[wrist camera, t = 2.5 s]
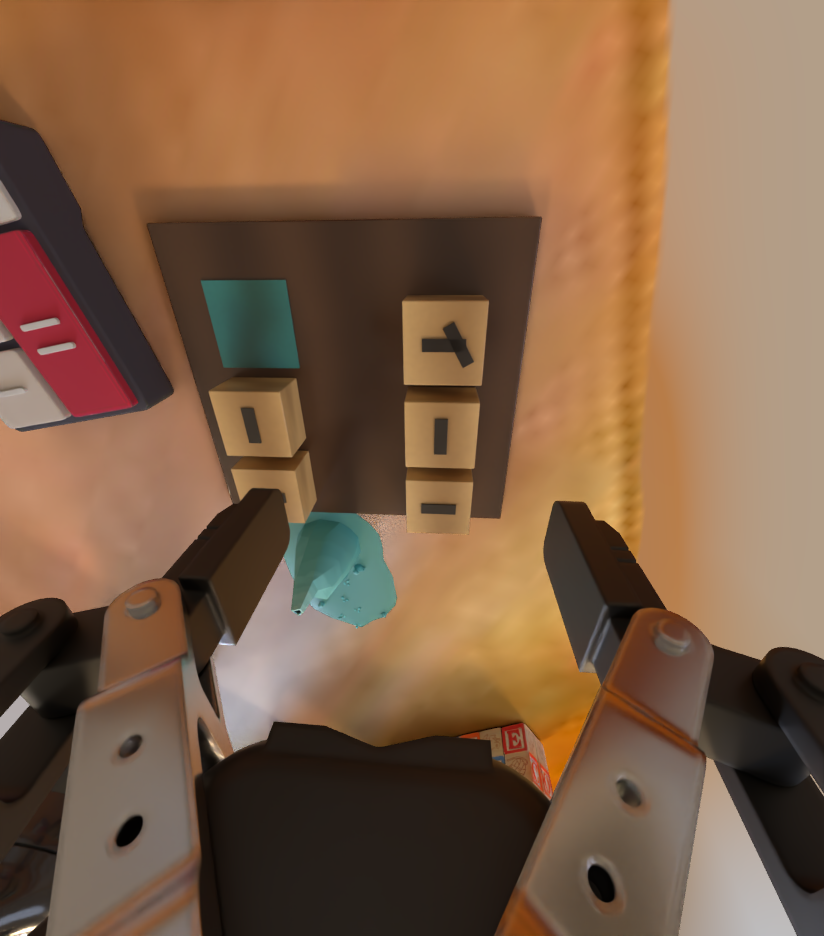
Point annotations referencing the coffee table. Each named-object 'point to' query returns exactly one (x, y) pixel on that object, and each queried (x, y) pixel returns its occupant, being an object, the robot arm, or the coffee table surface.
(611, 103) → the coffee table surface
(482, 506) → the letter board
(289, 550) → the diorama
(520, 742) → the stack of blocks
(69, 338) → the calculator
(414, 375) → the tan cross-marked cube
